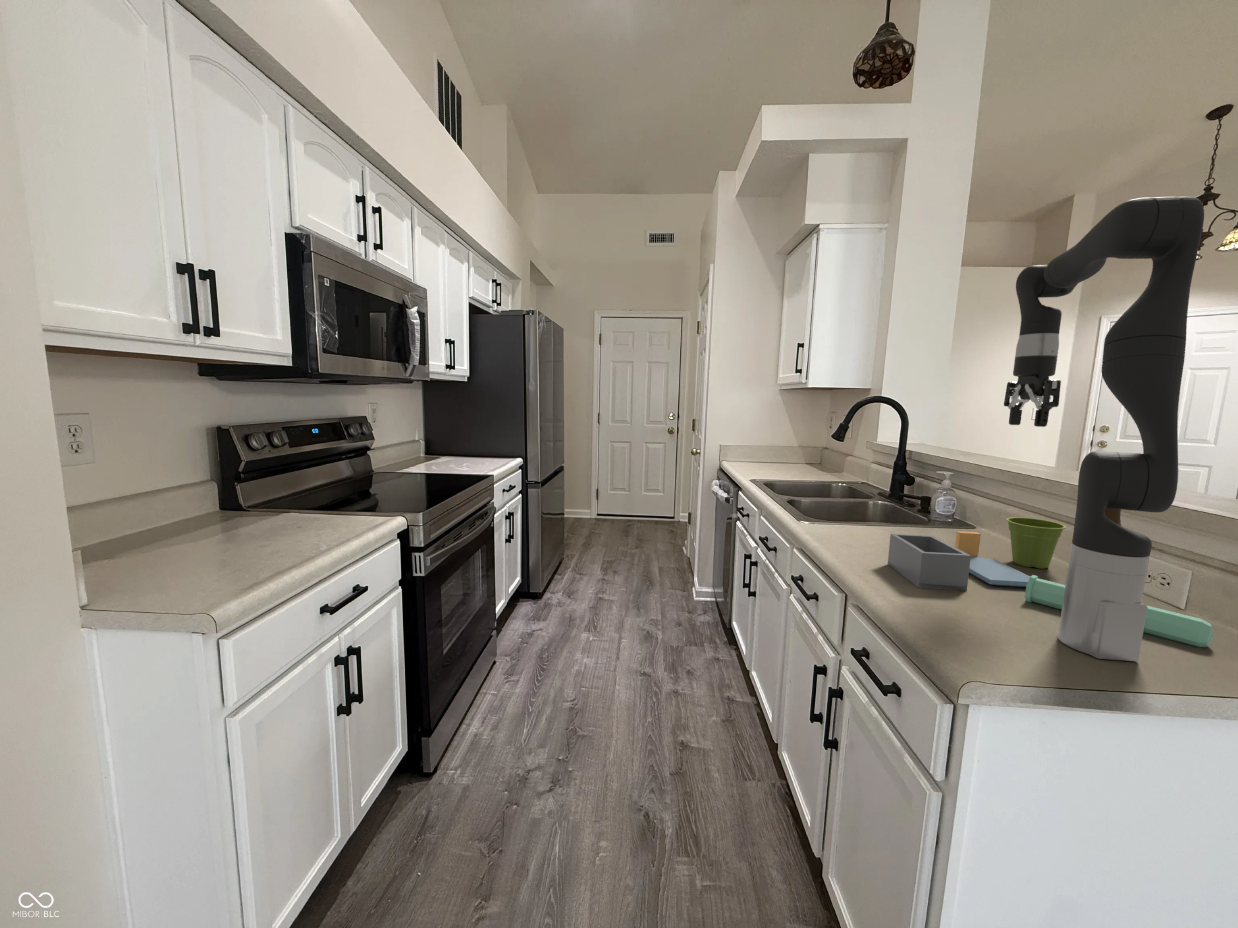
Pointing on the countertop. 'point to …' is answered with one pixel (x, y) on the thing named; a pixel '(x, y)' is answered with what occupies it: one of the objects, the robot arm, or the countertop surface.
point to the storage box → (929, 562)
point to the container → (1155, 622)
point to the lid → (988, 563)
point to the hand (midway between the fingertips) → (1026, 425)
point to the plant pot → (1033, 540)
